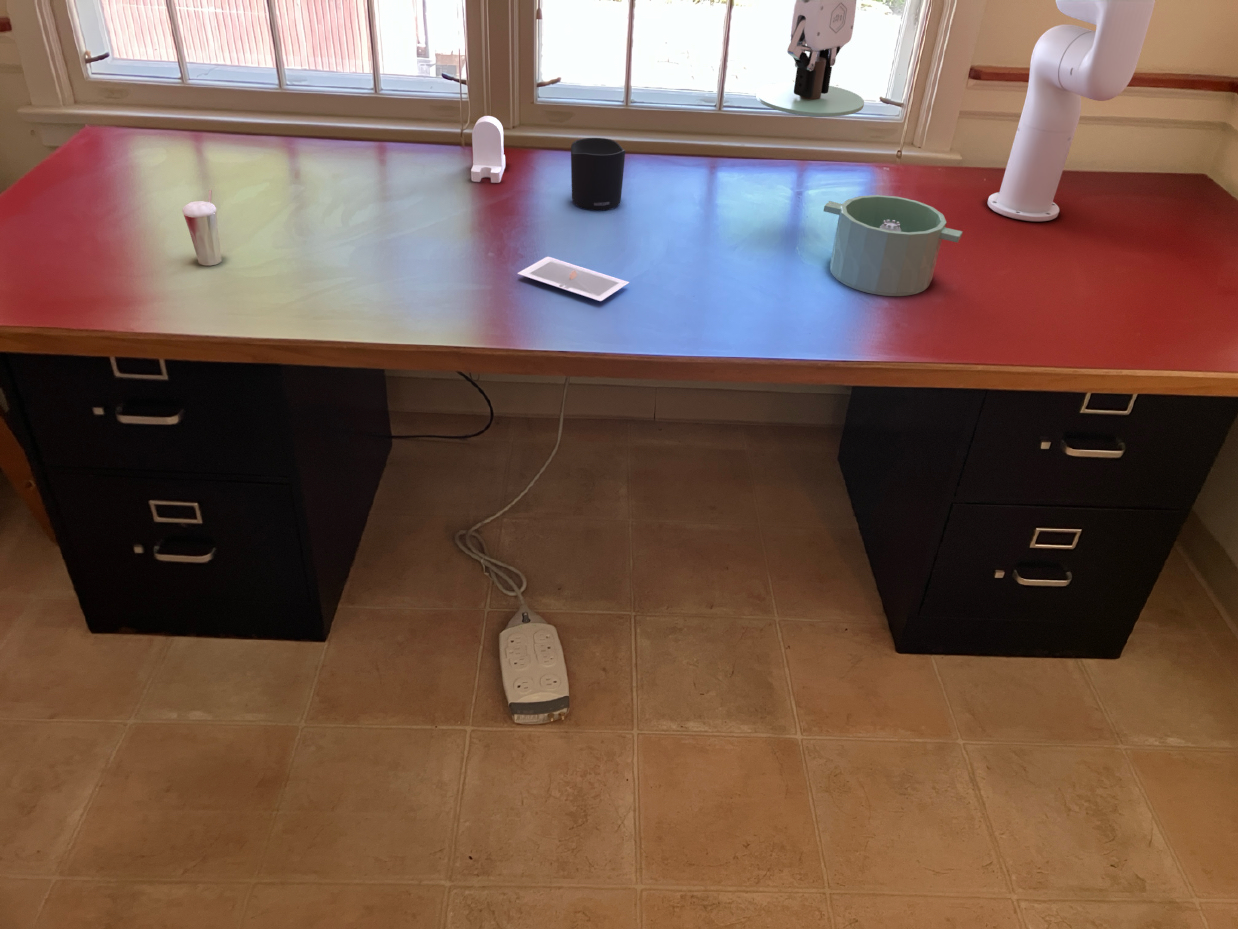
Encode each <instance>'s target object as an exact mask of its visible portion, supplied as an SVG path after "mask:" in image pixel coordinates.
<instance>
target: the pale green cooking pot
mask: <svg viewBox="0 0 1238 929" xmlns="http://www.w3.org/2000/svg"><path fill="white" fill-rule="evenodd" d="M823 212H825V213H829V214H833V215H837V216H838V219H837V224H836V230H835V235H834V241H833V246H832V251H831V256H830V261H829V263H830V267H829V270H830V273H831V275H832V276H833V277H834V278H835V279H836V280H837V281H838V282H839V283H841V284H843V285H845V286H847V287H849V288H851V289H853V290H856V291H859V292H863V293H867V294H871V295H877V296H883V297H905V296H913V295H917V294H921V293H922V292H924V291H925V290H927V289H928V288H929V286H930V284H931V282H932V281H933V278H934V272H935V268H936V264H937V261H938V258H939V254H940V250H941V245H942V242H943V240H944V241H949V242H953V243H959V241H960V240H961V239H962V237H963V231H962V230H958V229H953V228H949V227H946V226H947V220H946V218H945V215H944V214H943V213H942V212H940V211H939V210H938V209H936V208H935V207H933V206H931V205H929V204H926V203H924V202H920V201H918V200H914V199H910V198H906V197H902V196H893V195H882V194H871V195H858V196H855V197H852V198H848V199H847V200H845V201H844V202H843V203H840V202H835V201H831V200H828V201H827V203H825V204H824V205H823ZM886 220H890V222H889V223H892V220H895V224H896V223H897V222H899V223H900V228H901V231H900V232H899V231H889V230H884V229H880V226H881V225H882V224H883V221H886Z"/></svg>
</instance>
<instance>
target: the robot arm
mask: <svg viewBox="0 0 1238 929" xmlns="http://www.w3.org/2000/svg"><path fill="white" fill-rule="evenodd" d="M1055 4H1056V8H1057V9H1058V10H1059V12H1061V13H1062V14H1064V15H1065V16H1067V17H1070V18H1072V19H1076V20H1079V21H1082V22H1084V23H1089V24H1092V25H1095V27H1096V28H1095V30H1093V29H1089V28H1087V27H1083V26H1080V25H1077V24H1076V25H1075V24H1059V25H1055V26H1053V27H1051V28H1049V29H1047V30H1046V31H1045V32H1044V33H1042V35H1041V36H1040V37H1039V38H1038V39H1037V41H1036V43H1035V44H1034V47H1033V50H1032V53H1031V57H1030V58H1031V59H1030V65H1029V74H1028V75H1029V76H1028V85H1027V90H1026V91H1027V92H1026V96H1025V100H1024V103H1023V108H1022V110H1021V115H1020V118H1019V121H1018V125H1017V129H1016V132H1015V136H1014V139H1013V142H1012V146H1011V150H1010V153H1009V157H1008V159H1007V160H1008V161H1007V164H1006V167H1005V171H1004V174H1003V177H1002V181H1001V185H1000V189H999V191H998V192H994V193H992V194H990V195H989V196H988V199H987V206H988V207H989V208H990V210H992V211H993V212H995V213H997V214H999V215H1001V216H1004V217H1008V218H1011V219H1014V220H1019V221H1026V222H1047V221H1048V222H1049V221H1052V220H1054V219H1056V218H1057V217H1058V216H1059V213H1060V206H1058V204H1057V203H1055V202H1054V201H1055V200H1054V199H1055V196H1056V193H1057V190H1058V187H1059V184H1060V181H1061V178H1062V175H1063V172H1064V168H1065V165H1066V162H1067V159H1068V155H1069V152H1070V149H1071V147H1072V143H1073V140H1074V136H1075V134H1076V130H1077V128H1078V125H1079V121H1080V119H1081V111H1082V97H1083V98H1087V99H1089V100H1093V101H1097V102H1106V101H1110V100H1113V99H1114V98H1116V97H1118V96H1119V95H1120V94H1121V93H1122V92H1124V91H1125V89H1126V88H1127V86H1128V85H1129V84H1130V82H1131V80H1132V78H1133V76H1134V74H1135V71H1136V69H1137V66H1138V63H1139V61H1140V60H1139V59H1140V56H1141V53H1142V50H1143V46H1144V42H1145V40H1146V36H1147V33H1148V29H1149V25H1150V22H1151V19H1152V15H1153V11H1154V8H1155V4H1156V0H1055ZM856 9H857V0H795V1H794V5H793V10H792V18H791V23H790V33H789V40H790V43H789V44H788V47H787V51H786V52H787V54H788V55H789V56H790V57H791V58H793V60H794V66H795V68H796V73H795V80H794V82H795V86H794V94H796V95H799V96H802V97H806V98H811V97H812V95H813V88H814V82H815V75H816V71H815V70H813V69H814V65H815V61H816V56H817V57H822V58H825V59H826V66H825V72H824V78H823V85H822V91H821V93H823V94H826V93H828V89H829V86H830V82H831V77H832V76H831V75H832V71H833V67H834V65H835V64H836V60H837V56H838V54H839V52H840V51H841V50H842V49H843V47H845V45H847V44H848V43H849V42H851V40H852V36H853V32H854V26H855V18H856ZM807 52H808V53H809V54H807ZM808 57H809V58H808Z"/></svg>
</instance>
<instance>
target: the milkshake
mask: <svg viewBox="0 0 1238 929" xmlns="http://www.w3.org/2000/svg"><path fill="white" fill-rule="evenodd" d="M212 193H213V190H211V189H209V190H208V197H207V198H208V199H207V201H202V200H197V201H195V200H194V201H190V202H189V203H187V204H185V205H184V206H183V208H182V210H181V211H182V214H183V217H184V220H185V223H186V226H187V229H188V231H189V234H190V239H191V242H192V245H193V248H194V251H195V256H196V258H197V261H198V264H199V265H201V266H207V267H211V266H216V265H218V264H220V263H222V253H221V244H220V237H219V227H218V226H219V225H218V214H217V207H216V205H214V203H212V195H213V194H212Z"/></svg>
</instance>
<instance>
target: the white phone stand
mask: <svg viewBox="0 0 1238 929" xmlns="http://www.w3.org/2000/svg"><path fill="white" fill-rule="evenodd" d="M471 139H472V140H471V142H472V145H471V146H472V167H471V169H470V174H471V175H470V176H471V182H475V183H481V180H482V179H484V178H488V179H490V183H493V184H499V183H501V181H502V178H503V174H504V172H505V169H506V155H505V154H504V153H505V152H504V150H505V149H504V127H503V125H502V123H501V121H500V120H499V119H497V118H496V117H495V116H491V115H483V116H481V117H479V119H478V120H476V122H475V124H474V127H473V129H472V133H471Z"/></svg>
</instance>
